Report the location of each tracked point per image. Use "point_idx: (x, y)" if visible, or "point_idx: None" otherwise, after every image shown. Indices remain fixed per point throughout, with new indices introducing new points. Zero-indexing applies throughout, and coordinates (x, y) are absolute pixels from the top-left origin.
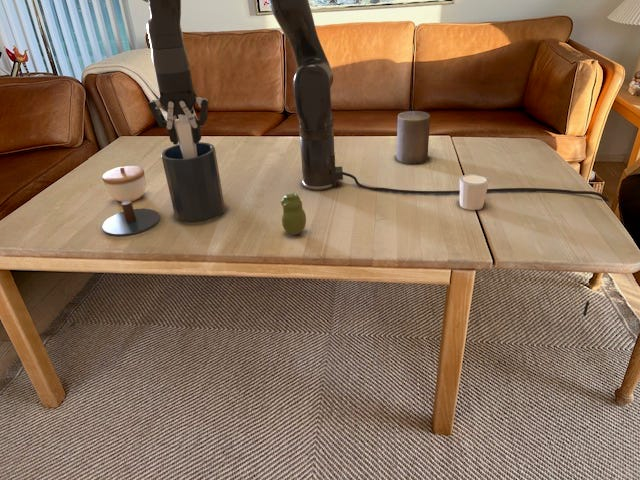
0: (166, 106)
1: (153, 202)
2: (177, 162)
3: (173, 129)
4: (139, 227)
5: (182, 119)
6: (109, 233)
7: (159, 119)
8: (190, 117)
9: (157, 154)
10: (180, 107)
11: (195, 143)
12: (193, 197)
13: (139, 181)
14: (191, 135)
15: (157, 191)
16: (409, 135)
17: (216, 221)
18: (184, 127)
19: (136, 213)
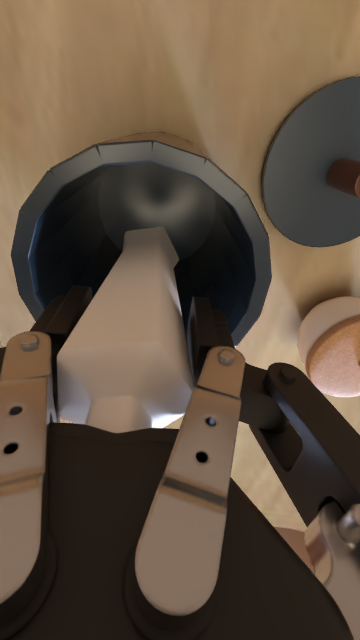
0: (247, 530)
1: (277, 293)
2: (180, 148)
3: (199, 349)
4: (320, 116)
5: (114, 398)
6: None
7: (305, 407)
8: (13, 384)
9: (269, 478)
10: (77, 502)
11: (88, 287)
12: (145, 134)
13: (318, 330)
14: (88, 307)
15: (268, 343)
16: None
17: (102, 139)
18: (108, 332)
19: (323, 219)
